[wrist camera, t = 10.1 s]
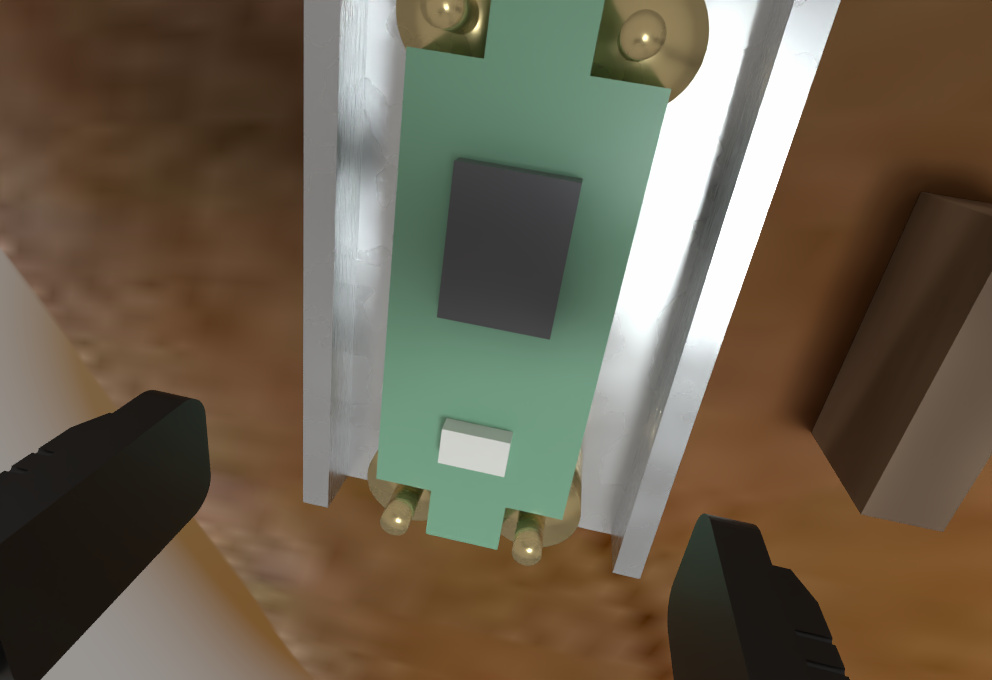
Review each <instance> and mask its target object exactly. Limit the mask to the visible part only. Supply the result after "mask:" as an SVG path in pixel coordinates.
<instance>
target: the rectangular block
mask: <svg viewBox="0 0 992 680" xmlns="http://www.w3.org/2000/svg"><path fill="white" fill-rule="evenodd" d="M812 435H813V436H814V438H815V440H816V441H817V443H818V445H819V446H820V448H821V450H822V451H823V453H824V455H825V456H826V458H827V459H828V461H829V463H830V464H831V466H832V468H833V469H834V471H835V473H836V474H837V476H838V478H839V479H840V481H841V482H842V484H843V486H844V487H845V489H846V491H847V492H848V494H849V496H850V497H851V499H852V501H853V502H854V504H855V505H856V507H857V509H858V510H859V512H860V514H862V515H866V516H871V517H876V518H880V519H885V520H890V521H894V522H899V523H904V524H909V525H913V526H918V527H923V528H927V529H932V530H937V531H941V532H943V531H944V529H945V528H946V526H947V524H948V523H949V521H950V520H951V518H952V517H953V515H954V513H955V512H956V510H957V509H958V507H959V505H960V504H961V502H962V501H963V499H964V497H965V496H966V494H967V493H968V491H969V489H970V488H971V486H972V485H973V483H974V482H975V480H976V478H977V477H978V475H979V474H980V472H981V470H982V469H983V467H984V466H985V464H986V462H987V461H988V459H989V458H990V456H991V454H992V204H991V203H985V202H979V201H973V200H967V199H962V198H956V197H950V196H944V195H938V194H932V193H926V192H921V193H920V195H919V198H918V200H917V202H916V204H915V206H914V208H913V211H912V213H911V215H910V217H909V219H908V222H907V224H906V226H905V228H904V230H903V233H902V235H901V237H900V239H899V241H898V244H897V246H896V248H895V250H894V252H893V255H892V257H891V259H890V261H889V263H888V266H887V268H886V270H885V272H884V274H883V277H882V279H881V281H880V283H879V285H878V288H877V290H876V292H875V294H874V296H873V299H872V301H871V303H870V305H869V307H868V310H867V312H866V314H865V316H864V318H863V321H862V323H861V325H860V327H859V329H858V331H857V334H856V336H855V338H854V340H853V342H852V345H851V347H850V349H849V351H848V353H847V356H846V358H845V360H844V362H843V364H842V367H841V369H840V371H839V373H838V375H837V378H836V380H835V382H834V384H833V386H832V389H831V391H830V393H829V395H828V397H827V400H826V402H825V404H824V406H823V408H822V411H821V413H820V415H819V417H818V419H817V422H816V424H815V426H814V428H813V430H812Z"/></svg>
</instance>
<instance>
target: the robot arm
mask: <svg viewBox="0 0 992 680" xmlns="http://www.w3.org/2000/svg"><path fill="white" fill-rule="evenodd" d="M210 479H211V473H210V461H209V450H208V438H207V427H206V415H205V409H204V406H203V404H202V403H201V402H200V401H199V400H197V399H192V398H188V397H183V396H179V395H174V394H170V393H165V392H161V391H156V390H149V391H146V392H144V393H142V394H140V395H139V396H137V397H136V398H134V399H133V400H131V401H130V402H128V403H127V404H126V405H124V406H123V407H121V408H120V409H118V410H117V411H115V412H114V413H108V414H105V415H102V416H100V417H97V418H95V419H92V420H90V421H87V422H84V423H81V424H79V425H76V426H74V427H71V428H69V429H68V430H66V431H65V432H63V433H62V434H60V435H59V436H57V437H56V438H54V439H53V440H51V441H50V442H48V443H46V444H45V445H43V446H42V447H40V448H39V450H38V452H37V453H36V454H35V453H31V454H30V455H28V456H26V457H25V458H23V459H22V460H20V461H19V462H18V463H16V464H14V465H13V466H12V468H11V470H10V471H9V472H7V471H3V472H2V473H0V680H41V679H42V677H43V676H44V675H45V674H46V673H47V672H48V671H49V670H50V669H51V668H52V667H53V666H54V665H55V664H56V662H57V661H58V660H59V659H60V658H61V657H62V656H63V655H64V654H65V653H66V652H67V651H68V650H69V649H70V647H72V645H73V644H74V643H75V642H76V641H77V640H78V639H79V638H80V637H81V636H82V635H83V634H84V632H86V630H87V629H88V628H89V627H90V626H91V625H92V624H93V623H94V622H95V621H96V620H97V619H98V618H99V617H100V616H101V614H102V613H103V612H104V611H105V610H106V609H107V608H108V607H109V606H110V605H111V604H112V603H113V602H114V600H116V599H117V597H118V596H119V595H120V594H121V593H122V592H123V591H124V590H125V589H126V588H127V587H128V586H129V585H130V584H131V582H132V581H133V580H134V579H135V578H136V577H137V576H138V575H139V574H140V573H141V572H142V570H144V569H145V568H146V566H147V565H148V564H149V563H150V562H151V561H152V560H153V559H154V558H155V557H156V556H157V555H158V554H159V553H160V552H161V551H162V549H163V548H164V547H165V546H166V545H167V544H168V543H169V542H170V541H171V540H172V539H173V538H174V536H175V535H176V534H177V533H178V532H179V531H180V530H181V529H182V528H183V527H184V526H185V525H186V524H187V523H188V522H189V521H190V520H191V518H192V517H193V516H194V515H195V514H196V513H197V512H198V510H199V509H200V507H201V506H202V504H203V502H204V500H205V498H206V496H207V493H208V490H209V486H210ZM668 635H669V643H670V651H671V660H672V668H673V676H674V680H850V679H849V677H846V676H845V673H844V671H845V667H844V665H843V663H842V660H841V658H840V655H839V653H838V650H837V648H836V646H835V645H832V636H831V633H830V631H829V629H828V626H827V624H826V621H825V619H824V616H823V614H822V612H821V609H820V607H819V604H818V602H817V601H816V600H815V599H814V597H813V596H812V595H811V594H810V592H809V591H808V590H807V589H806V588H805V586H804V585H803V584H802V583H801V582H800V580H799V579H798V578H797V577H796V575H795V574H794V573H793V572H792V571H791V569H787V568H782V567H778V566H773V565H772V563H771V560H770V557H769V555H768V552H767V549H766V546H765V543H764V540H763V537H762V535H761V532H760V530H759V528H758V527H757V526H756V525H754V524H750V523H745V522H741V521H736V520H732V519H727V518H723V517H718V516H714V515H709V514H702V515H701V516H700V517H699V518H698V520H697V522H696V524H695V527H694V530H693V532H692V535H691V538H690V540H689V543H688V546H687V548H686V551H685V554H684V556H683V559H682V561H681V564H680V567H679V569H678V572H677V575H676V577H675V580H674V583H673V586H672V589H671V593H670V598H669V605H668Z"/></svg>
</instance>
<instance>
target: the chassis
mask: <svg viewBox="0 0 992 680" xmlns="http://www.w3.org/2000/svg"><path fill="white" fill-rule="evenodd" d="M840 1H841V0H605V4H604V9H603V14H602V19H601V24H600V29H599V34H598V39H597V45H596V50H595V55H594V60H593V65H592V70H591V75H590V76H594V77H600V78H606V79H613V80H619V81H625V82H631V83H638V84H644V85H650V86H656V87H663V88H669V89H671V93H670V97H669V101H668V104H667V108H666V112H665V116H664V120H663V124H662V128H661V132H660V136H659V140H658V144H657V148H656V152H655V156H654V160H653V164H652V168H651V172H650V176H649V180H648V184H647V187H646V191H645V195H644V199H643V203H642V207H641V211H640V215H639V219H638V223H637V227H636V231H635V235H634V239H633V243H632V247H631V251H630V255H629V259H628V263H627V266H626V270H625V274H624V278H623V282H622V286H621V290H620V294H619V298H618V302H617V306H616V310H615V314H614V318H613V322H612V326H611V330H610V334H609V338H608V342H607V346H606V349H605V353H604V357H603V361H602V365H601V369H600V373H599V377H598V381H597V385H596V389H595V393H594V397H593V401H592V405H591V409H590V413H589V417H588V421H587V425H586V428H585V432H584V436H583V440H582V444H581V448H580V452H579V456H578V460H577V464H576V468H575V472H574V476H573V480H572V484H571V488H570V492H569V496H568V500H567V504H566V508H565V511H564V515H563V519H562V520H560V519H556V518H551V517H547V516H542V515H538V514H533V513H529V512H524V511H520V510H515V509H511V508H506V509H505V514H504V519H503V524H502V529H501V534H502V535H503V536H504V537H506V538H507V539H509V540H511V541H513V542H514V543H513V548H512V556H513V558H514V559H515V560H516V561H517V562H518V563H520V564H522V565H534V564H536V563H538V562H539V561H540V559H541V553H542V547H546V546H551V545H555V544H558V543H560V542H562V541H564V540H566V539H567V538H568V537H570V536H571V535H572V534H573V533H574V531H575V530H576V528H577V527H581V528H586V529H590V530H595V531H599V532H604V533H608V534H611V538H612V567H613V573H617V574H621V575H625V576H630V577H634V578H639V579H640V577H641V574H642V571H643V568H644V565H645V562H646V559H647V556H648V554H649V551H650V548H651V545H652V542H653V539H654V536H655V533H656V531H657V528H658V525H659V522H660V519H661V516H662V513H663V510H664V508H665V505H666V502H667V499H668V496H669V493H670V490H671V487H672V484H673V482H674V479H675V476H676V473H677V470H678V467H679V464H680V461H681V459H682V456H683V453H684V450H685V447H686V444H687V441H688V438H689V436H690V433H691V430H692V427H693V424H694V421H695V418H696V415H697V413H698V410H699V407H700V404H701V401H702V398H703V395H704V392H705V389H706V387H707V384H708V381H709V378H710V375H711V372H712V369H713V366H714V364H715V361H716V358H717V355H718V352H719V349H720V346H721V343H722V341H723V338H724V335H725V332H726V329H727V326H728V323H729V320H730V317H731V315H732V312H733V309H734V306H735V303H736V300H737V297H738V294H739V292H740V289H741V286H742V283H743V280H744V277H745V274H746V271H747V269H748V266H749V263H750V260H751V257H752V254H753V251H754V248H755V245H756V243H757V240H758V237H759V234H760V231H761V228H762V225H763V222H764V220H765V217H766V214H767V211H768V208H769V205H770V202H771V199H772V197H773V194H774V191H775V188H776V185H777V182H778V179H779V176H780V173H781V171H782V168H783V165H784V162H785V159H786V156H787V153H788V150H789V148H790V145H791V142H792V139H793V136H794V133H795V130H796V127H797V125H798V122H799V119H800V116H801V113H802V110H803V107H804V104H805V102H806V99H807V96H808V93H809V90H810V87H811V84H812V81H813V78H814V76H815V73H816V70H817V67H818V64H819V61H820V58H821V55H822V53H823V50H824V47H825V44H826V41H827V38H828V35H829V32H830V30H831V27H832V24H833V21H834V18H835V15H836V12H837V9H838V6H839V4H840ZM490 6H491V0H304V271H303V502H306V503H310V504H314V505H319V506H323V507H327V508H328V507H329V505H330V504H331V502H332V500H333V499H334V497H335V495H336V494H337V492H338V491H339V489H340V487H341V486H342V484H343V483H344V481H345V479H346V478H347V476H353V477H357V478H362V479H366V480H368V484H369V487H370V490H371V492H372V494H373V495H374V497H375V498H376V499H377V501H378V502H379V503H380V504H381V505H382V506H383V507H385V510H384V512H383V515H382V517H381V519H380V524H381V527H382V528H383V529H384V530H385V531H386V532H387V533H389V534H392V535H402V534H404V533H405V532H406V531H407V529H408V527H409V524H410V522H411V520H428V512H429V504H430V496H431V491H430V490H426V489H421V488H417V487H412V486H408V485H403V484H399V483H394V482H390V481H385V480H381V479H376V476H377V461H378V447H379V433H380V419H381V404H382V390H383V376H384V361H385V347H386V333H387V319H388V304H389V290H390V276H391V261H392V247H393V233H394V219H395V204H396V190H397V176H398V161H399V147H400V133H401V119H402V104H403V90H404V76H405V61H406V47H413V48H420V49H426V50H432V51H438V52H445V53H451V54H457V55H463V56H469V57H476V58H482V59H484V55H485V46H486V38H487V30H488V22H489V14H490Z"/></svg>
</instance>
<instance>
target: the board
mask: <svg viewBox="0 0 992 680" xmlns="http://www.w3.org/2000/svg"><path fill="white" fill-rule="evenodd" d="M604 4H605V0H491V6H490V14H489V22H488V30H487V38H486V46H485V55H484V59H482V58H476V57H469V56H463V55H457V54H451V53H445V52H438V51H432V50H426V49H420V48H413V47H406V61H405V76H404V90H403V104H402V119H401V133H400V147H399V161H398V176H397V190H396V204H395V219H394V233H393V247H392V261H391V276H390V290H389V304H388V319H387V333H386V347H385V361H384V376H383V390H382V404H381V419H380V433H379V447H378V461H377V476H376V479H381V480H385V481H390V482H394V483H399V484H403V485H408V486H412V487H417V488H421V489H426V490H430V491H431V496H430V504H429V512H428V520H427V528H426V534H430V535H435V536H439V537H443V538H448V539H452V540H456V541H461V542H465V543H470V544H474V545H478V546H483V547H487V548H491V549H496V550H497V548H498V544H499V539H500V534H501V529H502V524H503V519H504V514H505V509H506V508H511V509H515V510H520V511H524V512H529V513H533V514H538V515H542V516H547V517H551V518H556V519H560V520H562V519H563V515H564V511H565V508H566V504H567V500H568V496H569V492H570V488H571V484H572V480H573V476H574V472H575V468H576V464H577V460H578V456H579V452H580V448H581V444H582V440H583V436H584V432H585V428H586V425H587V421H588V417H589V413H590V409H591V405H592V401H593V397H594V393H595V389H596V385H597V381H598V377H599V373H600V369H601V365H602V361H603V357H604V353H605V349H606V346H607V342H608V338H609V334H610V330H611V326H612V322H613V318H614V314H615V310H616V306H617V302H618V298H619V294H620V290H621V286H622V282H623V278H624V274H625V270H626V266H627V263H628V259H629V255H630V251H631V247H632V243H633V239H634V235H635V231H636V227H637V223H638V219H639V215H640V211H641V207H642V203H643V199H644V195H645V191H646V187H647V184H648V180H649V176H650V172H651V168H652V164H653V160H654V156H655V152H656V148H657V144H658V140H659V136H660V132H661V128H662V124H663V120H664V116H665V112H666V108H667V104H668V101H669V97H670V93H671V89H669V88H663V87H656V86H650V85H644V84H638V83H631V82H625V81H619V80H613V79H606V78H600V77H594V76H590V75H591V70H592V65H593V60H594V55H595V50H596V45H597V39H598V34H599V29H600V24H601V19H602V14H603V9H604Z"/></svg>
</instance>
